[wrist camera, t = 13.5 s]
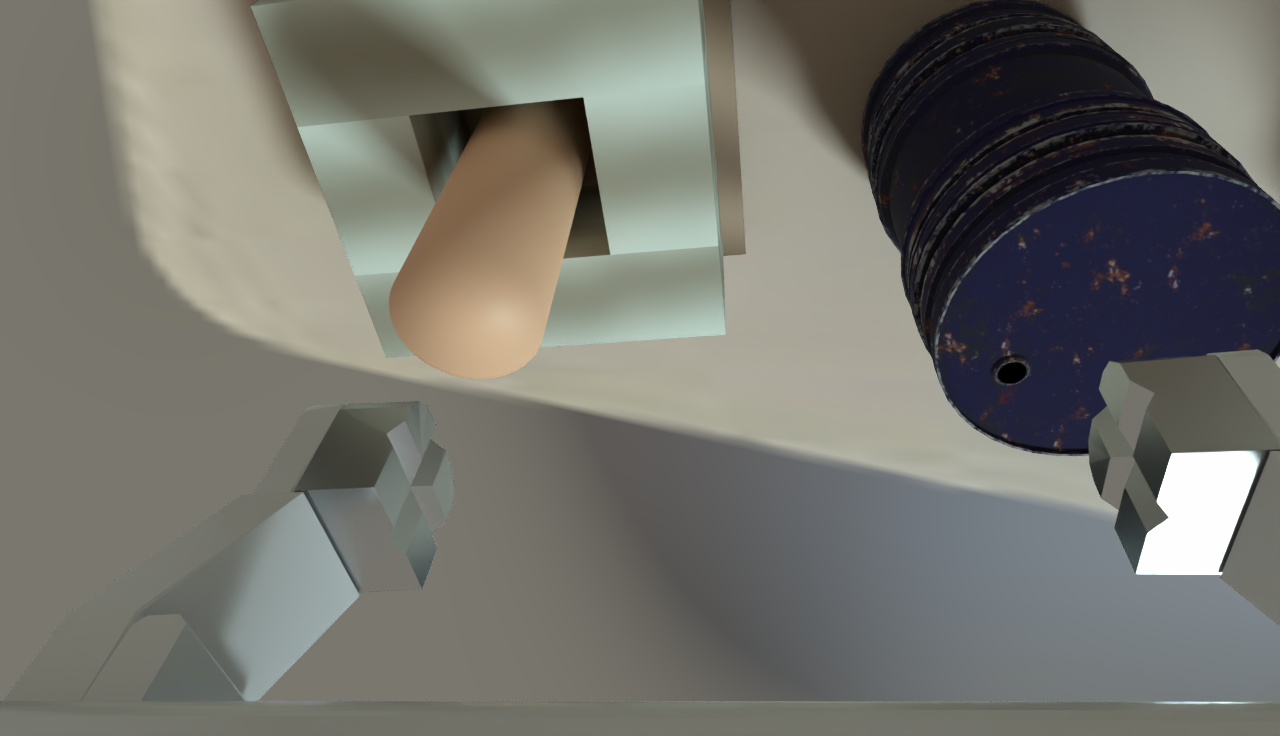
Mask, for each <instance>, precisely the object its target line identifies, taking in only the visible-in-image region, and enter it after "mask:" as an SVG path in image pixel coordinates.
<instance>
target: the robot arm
mask: <svg viewBox="0 0 1280 736" xmlns="http://www.w3.org/2000/svg"><path fill="white" fill-rule="evenodd" d="M1099 390H1100V392H1101V394H1102V396H1103V398H1104V400H1105V402H1106V404H1107V407H1105V408H1104V409H1103V410H1102V411H1101V412H1100V413H1099V414H1097V415H1096V416H1095V417H1094V418H1093V419H1092V424H1091V429H1090V435H1089V441H1088V444H1089V464H1090V468H1091V472H1092V476H1093V480H1094V483H1095V485H1096V488H1097V490H1098V492H1099V495H1100V497H1101V498H1102V499H1103V500H1105V501H1106V502H1108V503H1109V504H1111V505H1112V506H1114V507H1115V508H1117V509H1118V510H1119V511H1118V515H1117V519H1116V523H1115V530H1116V533H1117V535H1118V537H1119V539H1120V541H1121V544H1122V546H1123V548H1124V550H1125V552H1126V554H1127V556H1128V558H1129V561H1130V563H1131V565H1132V567H1133V570H1134V572H1135V574H1221V576H1220V578H1221V579H1222V580H1223V581H1224V582H1226V583H1227V584H1228V585H1229V586H1231V587H1232V588H1233V589H1234V590H1235V591H1237V592H1238V593H1239V594H1240V595H1242V596H1243V597H1244V598H1246V599H1247V600H1248V601H1249V602H1250V603H1252V604H1253V605H1254V606H1255V607H1257V608H1258V609H1259V610H1260V611H1262V612H1263V613H1264V614H1265V615H1266V616H1268V617H1269V618H1270V619H1272V620H1273V621H1274V622H1275V623H1277V624H1278V625H1279V626H1280V368H1279V367H1278V366H1277V364H1276V363H1275V362H1274V361H1273V359H1272V358H1271V357H1270V356H1269V355H1268V354H1266V353H1264V352H1262V351H1260V350H1246V351H1233V352H1221V353H1208V354H1206V355H1197V356H1182V357H1166V358H1150V359H1134V360H1119V361H1109V363H1108V364H1107V366H1106V368H1105V369H1104V371H1103V374H1102V378H1101V382H1100V387H1099ZM435 427H436V424H435V422H434V419H433V417H432V414H431V412H430V410H429V408H428V406H427V405H425V404H423V403H421V402H419V401H415V402H389V403H388V402H387V403H359V404H348V405H321V406H312V407H310V408H308V409H307V410H305V411H303V413H302V415H301V416H300V418H299V419H298V421H297V423H296V424H295V426H294V427H293V429H292V431H291V432H290V434H289V436H288V438H287V439H286V440H285V442H284V444H283V445H282V447H281V449H280V450H279V452H278V453H277V455H276V457H275V458H274V460H273V462H272V463H271V465H270V466H269V468H268V470H267V472H266V473H265V475H264V476H263V478H262V480H261V481H260V483H259V484H258V486H257V488H256V489H255V491H254V492H253V494H246V495H240V496H239V497H237V498H236V499H234V500H233V501H231V502H230V503H228V504H227V505H226V506H224V507H223V508H221V509H220V510H218V511H217V512H215V513H214V514H212V515H211V516H209V517H208V518H206V519H205V520H203V521H202V522H200V523H199V524H197V525H196V526H195V527H193V528H192V529H190V530H189V531H187V532H186V533H184V534H183V535H181V536H180V537H178V538H177V539H176V540H174V541H173V542H171V543H169V544H168V545H167V546H165V547H164V548H162V549H161V550H159V551H158V552H156V553H155V554H153V555H152V556H150V557H149V558H147V559H146V560H144V561H143V562H142V563H140V564H139V565H137V566H136V567H134V568H133V569H131V570H130V571H128V572H127V573H125V574H124V575H122V576H121V577H119V578H118V579H116V580H115V581H114V582H112V583H111V584H109V585H108V586H106V587H105V588H103V589H102V590H100V591H99V592H97V593H96V594H95V595H93V596H91V597H90V598H88V599H87V600H86V601H84V602H83V603H81V604H80V605H78V606H77V607H75V608H74V609H72V610H71V611H69V612H68V613H67V614H66V615H65V616H64V618H63V619H62V620H61V622H60V623H59V625H58V626H57V627H56V629H55V630H54V631H53V633H52V634H51V636H50V637H49V638H48V639H47V641H46V642H45V644H44V645H43V646H42V648H41V649H40V650H39V652H38V653H37V654H36V656H35V657H34V659H33V660H32V661H31V663H30V664H29V665H28V667H27V668H26V670H25V671H24V672H23V674H22V675H21V676H20V678H19V679H18V681H17V682H16V683H15V684H14V686H13V687H12V688H11V690H10V691H9V693H8V694H7V695H6V697H5V698H4V700H3V701H0V736H1280V702H747V701H745V702H743V701H741V702H740V701H737V702H736V701H730V702H727V701H725V702H724V701H716V702H715V701H713V702H711V701H706V702H705V701H700V702H699V701H697V702H696V701H695V702H694V701H691V702H690V701H686V702H685V701H679V702H678V701H653V702H651V701H645V702H644V701H637V702H636V701H258V700H259V699H260V698H261V697H262V696H263V695H264V694H265V693H266V692H267V691H268V690H269V689H270V688H271V687H272V685H274V683H275V682H276V681H277V680H278V679H279V678H280V677H281V676H282V675H283V674H284V673H285V672H286V671H287V670H288V669H289V668H290V667H291V666H292V665H293V664H294V663H295V662H296V661H297V660H298V659H299V658H300V657H301V656H302V655H303V654H304V653H305V652H306V651H307V650H308V648H309V647H310V646H311V645H312V644H313V643H314V642H315V641H316V640H317V639H318V638H319V637H320V636H321V635H322V634H323V633H324V632H325V631H326V630H327V629H328V628H329V627H330V626H331V625H332V624H333V623H334V622H335V621H336V620H337V619H338V618H339V617H340V616H341V614H342V613H343V612H344V611H345V610H346V609H347V608H348V607H349V606H350V605H351V604H352V603H353V602H354V601H355V600H356V599H357V598H358V597H359V594H358V593H359V592H360V593H361V592H380V591H400V590H419V589H423V586H424V583H425V581H426V578H427V575H428V572H429V569H430V566H431V564H432V561H433V558H434V555H435V553H436V550H437V546H436V544H435V541H434V539H433V537H432V533H433V532H434V531H436V529H438V528H439V527H440V526H441V525H443V524H444V523H445V522H446V521H447V519H448V515H449V512H450V509H451V506H452V503H453V488H454V478H453V472H452V466H451V463H450V460H449V457H448V455H447V452H446V450H445V449H443V448H442V447H440V446H439V445H438V444H437V443H435V442H434V441H433V440H431V436H432V434H433V431H434V429H435Z"/></svg>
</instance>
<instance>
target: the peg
mask: <svg viewBox="0 0 1280 736" xmlns="http://www.w3.org/2000/svg"><path fill="white" fill-rule="evenodd" d="M591 147H592V145H591V139H590V133H589V127H588V121H587V116H586V110H585V104H584V98H583V97H581V98H571V99H562V100H552V101H543V102H533V103H524V104H514V105H504V106H495V107H486V109H485V110H484V112H483V114H482V116H481V118H480V120H479V122H478V124H477V126H476V128H475V129H474V131H473V133H472V135H471V137H470V139H469V141H468V143H467V145H466V146H465V148H464V150H463V152H462V154H461V156H460V158H459V160H458V162H457V164H456V165H455V167H454V169H453V171H452V173H451V175H450V177H449V179H448V181H447V182H446V184H445V186H444V188H443V190H442V192H441V194H440V196H439V198H438V200H437V201H436V203H435V205H434V207H433V209H432V211H431V213H430V215H429V217H428V219H427V220H426V222H425V224H424V226H423V228H422V230H421V232H420V234H419V236H418V237H417V239H416V241H415V243H414V245H413V247H412V249H411V251H410V253H409V255H408V256H407V258H406V260H405V262H404V264H403V266H402V268H401V270H400V272H399V273H398V275H397V277H396V279H395V281H394V283H393V285H392V288H391V291H390V296H389V312H390V317H391V321H392V324H393V326H394V328H395V330H396V332H397V334H398V336H399V337H400V339H401V340H402V342H403V343H404V344H405V345H406V347H407V348H408V349H409V350H410V351H411V352H412V353H413V354H414V355H416V356H417V357H418V358H419V359H421V360H422V361H423V362H425V363H427V364H428V365H430V366H432V367H433V368H436V369H438V370H440V371H442V372H445V373H448V374H450V375H454V376H458V377H463V378H469V379H490V378H496V377H501V376H504V375H507V374H510V373H512V372H514V371H516V370H518V369H520V368H521V367H523V366H524V365H525V364H527V363H528V362H529V361H530V360H531V359H532V358H533V357H534V355H535V354H536V352H537V351H538V349H539V347H540V345H541V343H542V339H543V336H544V332H545V328H546V324H547V320H548V316H549V312H550V308H551V304H552V300H553V296H554V293H555V289H556V285H557V281H558V277H559V273H560V269H561V265H562V261H563V257H564V253H565V249H566V245H567V241H568V237H569V233H570V230H571V226H572V222H573V218H574V214H575V210H576V206H577V202H578V198H579V194H580V190H581V186H582V182H583V178H584V174H585V171H586V167H587V163H588V159H589V155H590V151H591Z"/></svg>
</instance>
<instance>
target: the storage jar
mask: <svg viewBox="0 0 1280 736" xmlns="http://www.w3.org/2000/svg"><path fill="white" fill-rule="evenodd" d="M861 135H862V149H863V154H864V158H865V162H866V166H867V169H868V175H869V180H870V185H871V189H872V193H873V196H874V199H875V202H876V205H877V210H878V214H879V218H880V220H881V223H882V225H883V227H884V229H885V232H886V234H887V235H888V236H889V238H890V239H891V241H892V242H893V243H894V245H895V246H896V247H897V249H898V250H899V251H900V253H901V278H902V282H903V286H904V291H905V295H906V297H907V300H908V302H909V304H910V306H911V309H912V313H913V317H914V319H915V323H916V326H917V328H918V332H919V334H920V336H921V338H922V340H923V343H924V345H925V347H926V349H927V350H928V352H929V353H930V355H931V357H932V359H933V363H934V367H935V370H936V373H937V376H938V379H939V382H940V384H941V387H942V389H943V391H944V393H945V395H946V397H947V400H948V401H949V402H950V404H951V405H952V406H953V408H954V409H955V410H956V412H957V413H958V414H959V416H961V417H962V418H963V419H964V420H965V421H966V422H967V423H968V424H970V425H971V426H972V427H973V428H974V429H976V430H977V431H979V432H981V433H982V434H984V435H986V436H987V437H989V438H990V439H992V440H995V441H997V442H1000V443H1002V444H1005V445H1007V446H1009V447H1012V448H1016V449H1020V450H1024V451H1028V452H1032V453H1039V454H1047V455H1055V456H1086V455H1089V444H1088V441H1089V435H1090V429H1091V424H1092V419H1093V418H1094V417H1095V416H1096V415H1097V414H1099V413H1100V412H1101V411H1102V410H1103V409H1104V408H1105V407H1107V404H1106V402H1105V400H1104V398H1103V396H1102V394H1101V392H1100V390H1099V387H1100V382H1101V378H1102V374H1103V371H1104V369H1105V368H1106V366H1107V364H1108V363H1109V361H1119V360H1134V359H1150V358H1166V357H1182V356H1197V355H1206V354H1208V353H1221V352H1233V351H1246V350H1260V351H1262V352H1264V353H1266V354H1268V355H1269V356H1270V357H1271V358H1272V359H1273V361H1274V362H1276V360H1277V359H1278V358H1279V356H1280V205H1279V204H1278V203H1277V202H1276V201H1275V200H1274V199H1273V198H1272V197H1270V196H1269V195H1268V194H1267V193H1266V192H1264V191H1263V190H1262V189H1261V188H1260V187H1259V186H1258V185H1257V184H1256V183H1255V182H1254V181H1253V179H1252V178H1251V177H1250V175H1249V174H1248V173H1247V171H1246V170H1245V169H1244V167H1243V166H1242V165H1241V163H1240V162H1239V161H1238V160H1237V159H1235V158H1234V157H1233V156H1232V155H1231V154H1230V153H1229V152H1228V151H1226V150H1225V149H1224V148H1223V147H1222V146H1221V145H1220V144H1218V143H1217V142H1216V141H1215V140H1214V139H1212V138H1211V137H1210V136H1209V134H1208V133H1207V132H1206V130H1204V129H1203V128H1202V127H1201V126H1200V125H1198V124H1197V123H1196V122H1195V121H1194V120H1193V119H1191V118H1190V117H1189V116H1187V115H1186V114H1184V113H1182V112H1180V111H1178V110H1176V109H1174V108H1172V107H1170V106H1169V105H1166V104H1163V103H1161V102H1159V101H1157V100H1154V98H1153V96H1152V94H1151V92H1150V90H1149V88H1148V86H1147V84H1146V82H1145V80H1144V79H1143V78H1142V77H1141V75H1140V74H1139V73H1138V71H1137V70H1136V69H1135V68H1134V66H1133V65H1131V64H1130V63H1129V62H1128V61H1127V60H1125V59H1124V58H1123V57H1122V56H1121V55H1119V54H1118V53H1116V52H1115V51H1114V50H1113V49H1112V48H1111V47H1110V46H1108V45H1107V44H1106V43H1105V42H1104V41H1103V40H1101V39H1100V38H1099V37H1098V36H1097V35H1095V34H1094V33H1092V32H1090V31H1088V30H1086V29H1085V28H1083V27H1081V26H1080V25H1079V24H1078V23H1077V22H1076V21H1074V20H1073V19H1072V18H1071V17H1070V16H1068V15H1067V14H1065V13H1063V12H1061V11H1060V10H1058V9H1056V8H1054V7H1052V6H1049V5H1046V4H1043V3H1040V2H1036V1H1032V0H986V1H980V2H975V3H972V4H969V5H966V6H963V7H960V8H957V9H954V10H952V11H950V12H948V13H946V14H944V15H942V16H940V17H938V18H936V19H934V20H933V21H931V22H930V23H928V24H927V25H925V26H924V27H922V28H921V29H920V30H918V31H917V32H915V33H914V34H913V35H912V36H911V37H910V38H909V39H908V40H907V41H905V42H904V43H903V44H902V45H901V46H900V47H899V48H898V49H897V51H896V52H895V53H894V54H893V55H892V57H891V58H890V59H889V60H888V61H887V63H886V64H885V66H884V67H883V69H882V70H881V72H880V74H879V75H878V77H877V78H876V80H875V82H874V85H873V87H872V89H871V91H870V94H869V96H868V99H867V103H866V106H865V110H864V113H863V121H862V130H861Z"/></svg>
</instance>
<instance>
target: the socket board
mask: <svg viewBox="0 0 1280 736" xmlns="http://www.w3.org/2000/svg"><path fill="white" fill-rule="evenodd" d="M251 9H252V11H253V14H254V16H255V19H256V22H257V24H258V27H259V29H260V32H261V35H262V37H263V40H264V42H265V45H266V48H267V50H268V53H269V55H270V58H271V60H272V63H273V66H274V68H275V71H276V73H277V76H278V79H279V81H280V84H281V86H282V89H283V92H284V94H285V97H286V99H287V102H288V104H289V107H290V110H291V112H292V115H293V117H294V120H295V123H296V125H297V128H298V130H299V133H300V136H301V138H302V141H303V143H304V146H305V148H306V151H307V154H308V156H309V159H310V161H311V164H312V167H313V169H314V172H315V174H316V177H317V179H318V182H319V185H320V187H321V190H322V192H323V195H324V198H325V200H326V203H327V205H328V208H329V211H330V213H331V216H332V218H333V221H334V223H335V226H336V229H337V231H338V234H339V236H340V239H341V242H342V244H343V247H344V249H345V252H346V255H347V257H348V260H349V262H350V265H351V267H352V270H353V273H354V275H355V278H356V280H357V283H358V286H359V288H360V291H361V293H362V296H363V299H364V301H365V304H366V306H367V309H368V311H369V314H370V317H371V319H372V322H373V324H374V327H375V330H376V332H377V335H378V337H379V340H380V342H381V345H382V348H383V350H384V353H385V355H386V358H391V357H405V356H416V355H414V354H413V353H412V352H411V351H410V350H409V349H408V348H407V347H406V345H405V344H404V343H403V342H402V340H401V339H400V337H399V336H398V334H397V332H396V330H395V328H394V326H393V324H392V321H391V317H390V312H389V296H390V291H391V288H392V285H393V283H394V281H395V279H396V277H397V275H398V273H399V272H400V270H401V268H402V266H403V264H404V262H405V260H406V258H407V256H408V255H409V253H410V251H411V249H412V247H413V245H414V243H415V241H416V239H417V237H418V236H419V234H420V232H421V230H422V228H423V226H424V224H425V222H426V220H427V219H428V217H429V215H430V213H431V211H432V209H433V207H434V205H435V203H436V201H437V200H438V198H439V196H440V194H441V192H442V190H443V188H444V186H445V184H446V182H447V181H448V179H449V177H450V175H451V173H452V171H453V169H454V167H455V165H456V164H457V162H458V160H459V158H460V156H461V154H462V152H463V150H464V148H465V146H466V145H467V143H468V141H469V139H470V137H471V135H472V133H473V131H474V129H475V128H476V126H477V124H478V122H479V120H480V118H481V116H482V114H483V112H484V110H485V109H486V107H495V106H504V105H514V104H524V103H533V102H543V101H552V100H562V99H571V98H581V97H583V98H584V104H585V110H586V116H587V121H588V127H589V133H590V139H591V145H592V147H591V151H590V155H589V159H588V163H587V167H586V171H585V174H584V178H583V182H582V186H581V190H580V194H579V198H578V202H577V206H576V210H575V214H574V218H573V222H572V226H571V230H570V233H569V237H568V241H567V245H566V249H565V253H564V257H563V261H562V265H561V269H560V273H559V277H558V281H557V285H556V289H555V293H554V296H553V300H552V304H551V308H550V312H549V316H548V320H547V324H546V328H545V332H544V336H543V339H542V343H541V345H540V347H551V346H566V345H580V344H595V343H609V342H624V341H638V340H653V339H668V338H682V337H697V336H711V335H726V327H725V295H724V263H723V256H728V255H740V254H746V250H745V234H744V218H743V202H742V185H741V169H740V153H739V136H738V120H737V104H736V88H735V71H734V55H733V39H732V23H731V6H730V0H259V1H257V2H256V3H255V4H253V5H252V6H251Z"/></svg>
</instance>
